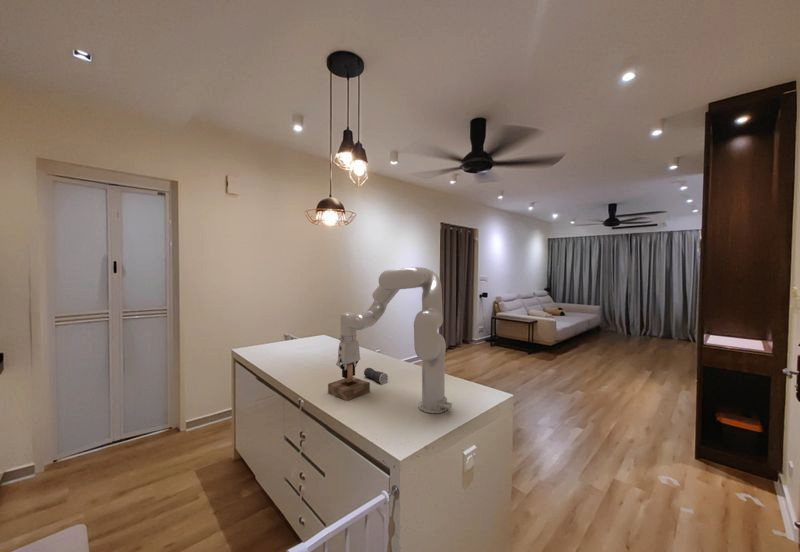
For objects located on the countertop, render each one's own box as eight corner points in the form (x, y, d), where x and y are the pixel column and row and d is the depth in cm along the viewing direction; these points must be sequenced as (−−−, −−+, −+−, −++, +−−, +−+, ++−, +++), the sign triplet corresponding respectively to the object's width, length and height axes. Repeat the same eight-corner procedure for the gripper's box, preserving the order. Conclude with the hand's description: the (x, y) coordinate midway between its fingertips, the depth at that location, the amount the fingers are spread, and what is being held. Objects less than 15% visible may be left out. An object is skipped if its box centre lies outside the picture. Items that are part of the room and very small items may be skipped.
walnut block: (369, 391, 150) (369, 382, 150) (346, 401, 139) (346, 391, 139) (351, 385, 159) (351, 376, 159) (328, 393, 148) (328, 383, 148)
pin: (354, 380, 149) (354, 364, 149) (347, 382, 146) (347, 366, 146) (349, 378, 152) (349, 362, 152) (342, 380, 149) (342, 364, 149)
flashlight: (362, 377, 170) (362, 367, 170) (371, 375, 174) (370, 365, 174) (379, 385, 159) (379, 374, 159) (388, 382, 162) (388, 372, 162)
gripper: (339, 342, 140) (339, 383, 140) (366, 336, 152) (366, 373, 153) (329, 340, 145) (329, 379, 145) (356, 334, 157) (356, 370, 158)
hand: (348, 376), depth 149 cm, fingers closed on pin, 4 cm apart
